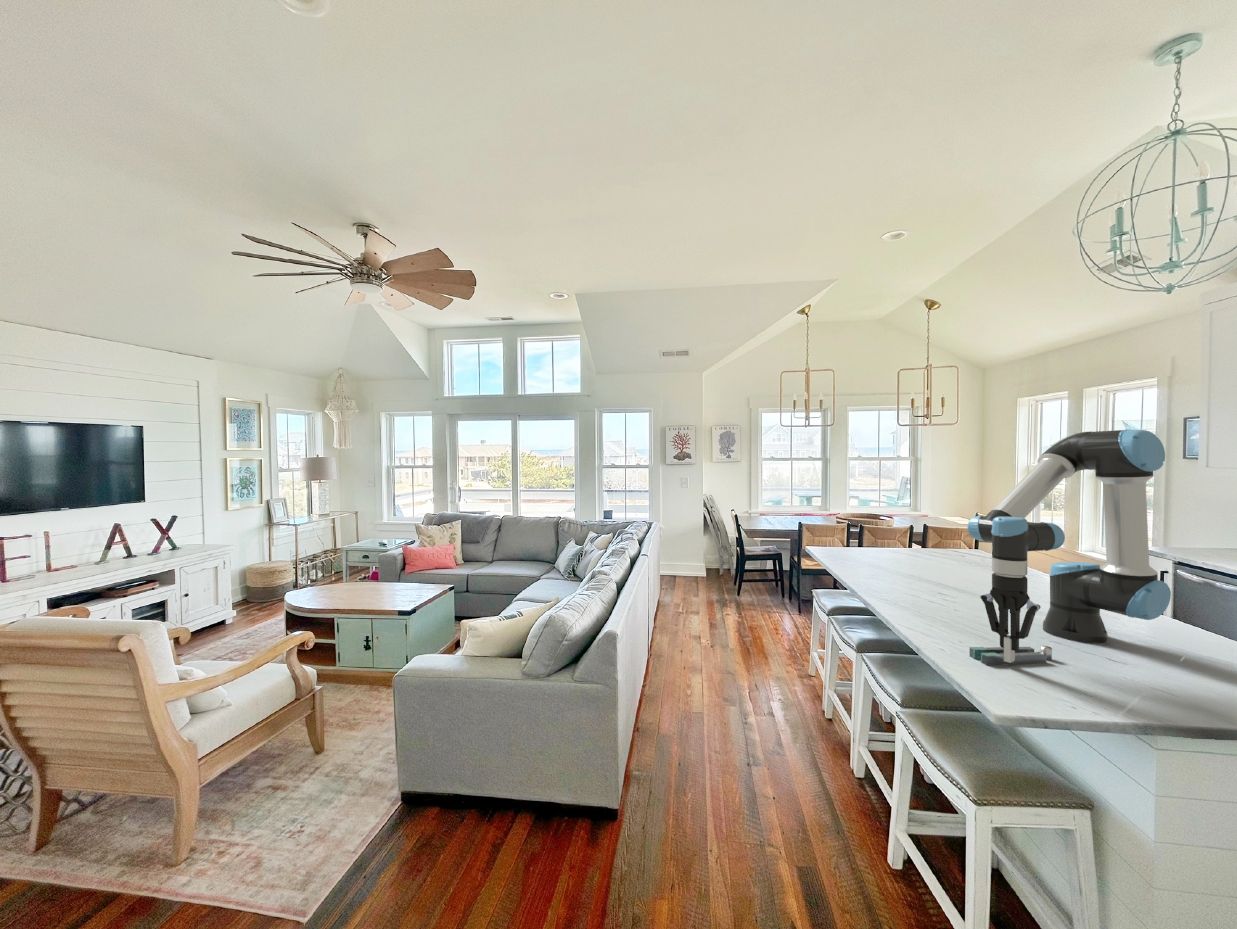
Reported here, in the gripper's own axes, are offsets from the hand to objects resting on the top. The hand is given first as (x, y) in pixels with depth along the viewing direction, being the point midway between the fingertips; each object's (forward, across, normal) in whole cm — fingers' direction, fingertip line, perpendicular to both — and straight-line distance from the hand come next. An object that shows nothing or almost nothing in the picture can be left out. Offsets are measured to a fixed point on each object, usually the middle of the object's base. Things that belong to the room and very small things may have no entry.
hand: (1009, 660), depth 131 cm
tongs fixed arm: (+2, +2, -7) cm, 8 cm away
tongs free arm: (+2, +1, -4) cm, 5 cm away
